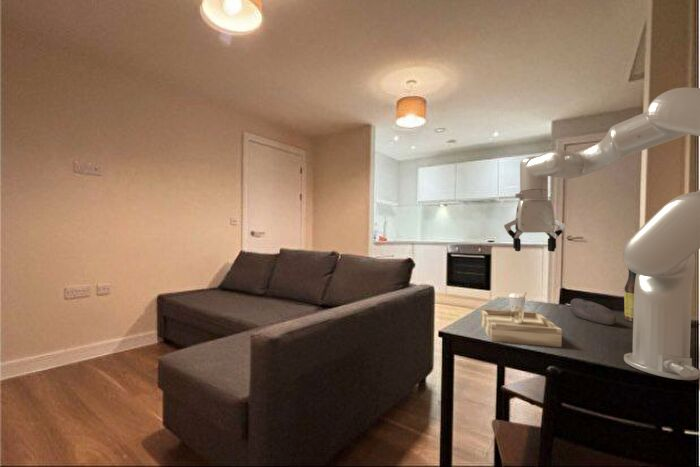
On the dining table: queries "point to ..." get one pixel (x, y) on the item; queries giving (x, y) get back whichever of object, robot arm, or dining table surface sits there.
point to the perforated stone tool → (592, 311)
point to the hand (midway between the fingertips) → (534, 251)
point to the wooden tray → (520, 328)
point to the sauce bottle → (629, 296)
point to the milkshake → (517, 307)
